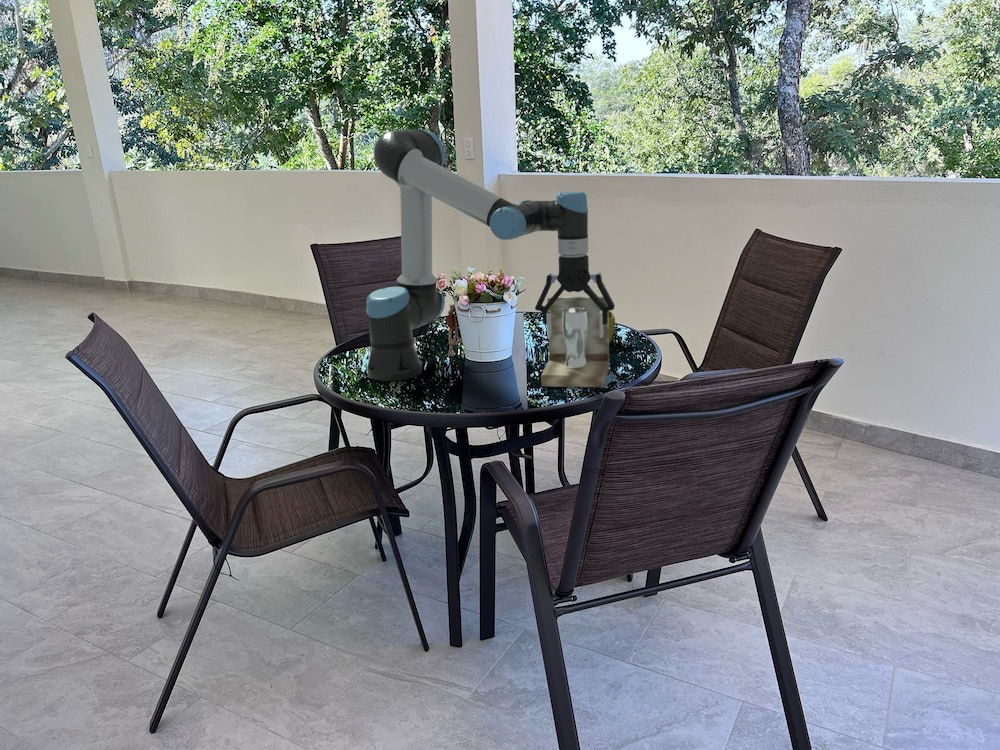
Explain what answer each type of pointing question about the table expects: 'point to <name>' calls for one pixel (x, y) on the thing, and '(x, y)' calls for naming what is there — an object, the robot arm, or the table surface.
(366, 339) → the table surface
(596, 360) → the beige brown l-shaped block
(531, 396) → the table surface
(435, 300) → the robot arm
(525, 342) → the table surface
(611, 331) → the flower pot
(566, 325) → the beer glass
